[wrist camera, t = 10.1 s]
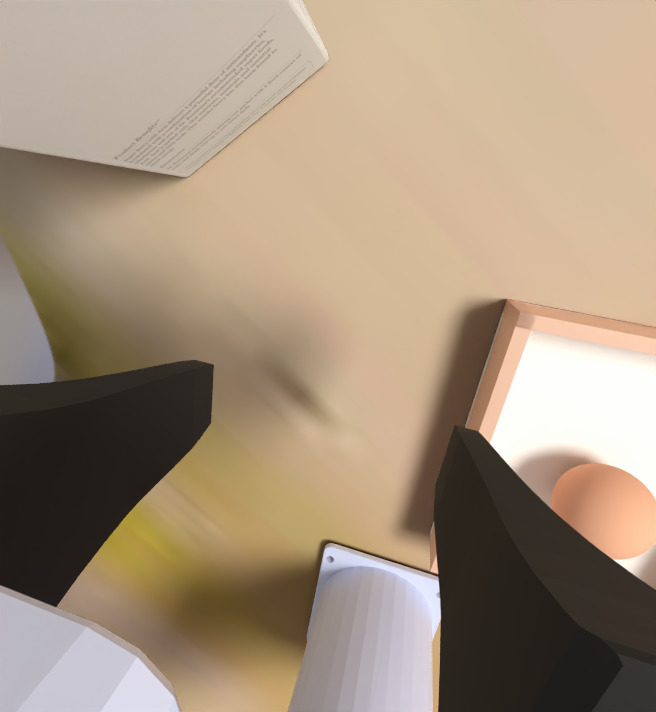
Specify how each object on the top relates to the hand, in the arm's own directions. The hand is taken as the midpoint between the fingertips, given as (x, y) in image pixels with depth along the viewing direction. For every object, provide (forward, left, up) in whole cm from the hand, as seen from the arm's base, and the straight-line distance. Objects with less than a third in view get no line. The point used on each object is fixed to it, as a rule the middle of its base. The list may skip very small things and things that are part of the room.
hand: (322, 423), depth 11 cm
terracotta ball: (-5, -12, -7) cm, 15 cm away
